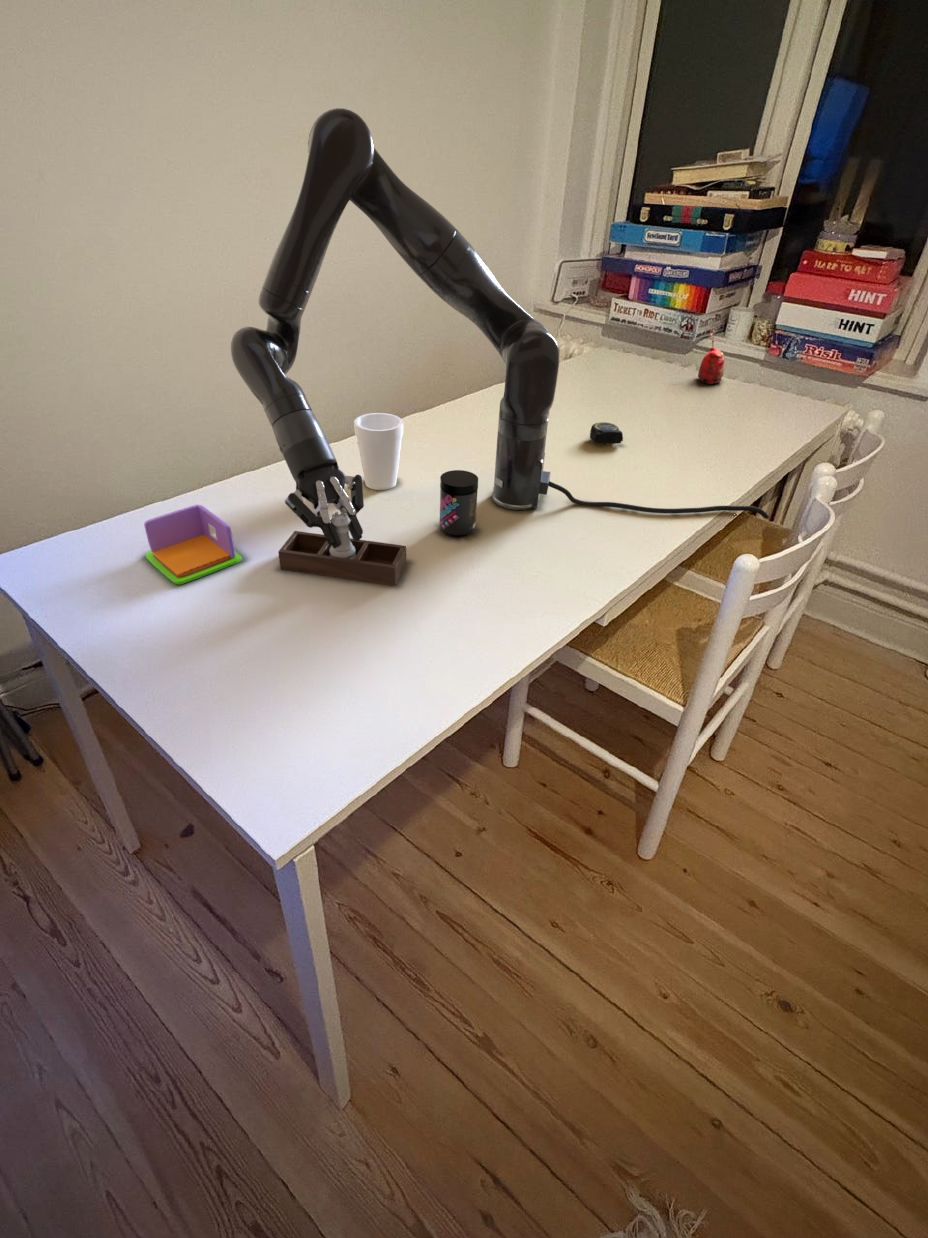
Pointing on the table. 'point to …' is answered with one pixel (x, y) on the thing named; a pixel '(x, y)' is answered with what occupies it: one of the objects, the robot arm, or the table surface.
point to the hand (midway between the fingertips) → (348, 542)
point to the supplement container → (458, 503)
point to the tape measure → (605, 433)
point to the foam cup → (379, 448)
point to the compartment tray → (343, 559)
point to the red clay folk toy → (712, 365)
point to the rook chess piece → (342, 537)
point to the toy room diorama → (190, 544)
